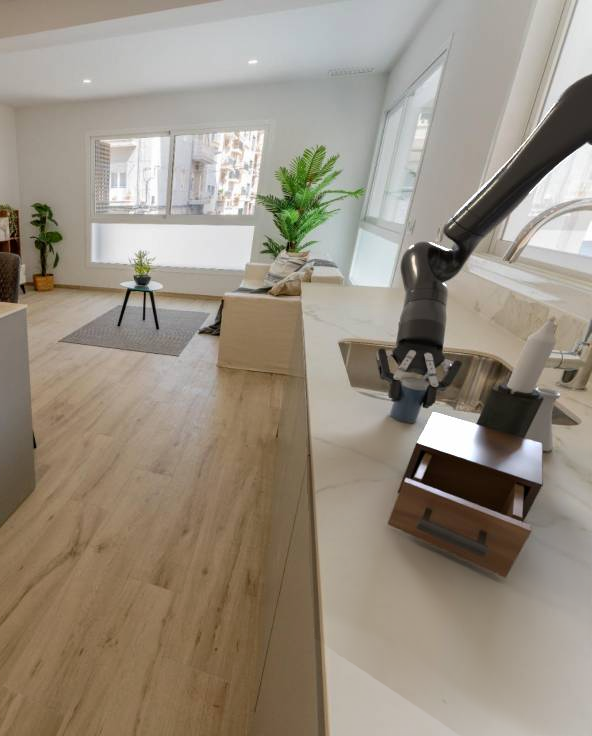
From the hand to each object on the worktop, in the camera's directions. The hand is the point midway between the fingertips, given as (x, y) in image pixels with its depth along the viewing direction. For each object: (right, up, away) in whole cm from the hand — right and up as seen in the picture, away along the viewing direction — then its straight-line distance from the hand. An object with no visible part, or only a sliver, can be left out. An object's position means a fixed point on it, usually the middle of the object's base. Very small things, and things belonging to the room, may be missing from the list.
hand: (410, 403), depth 81 cm
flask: (+18, -7, -4) cm, 19 cm away
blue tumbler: (+1, -3, +3) cm, 4 cm away
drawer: (-16, -14, -27) cm, 35 cm away
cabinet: (-7, -12, -18) cm, 23 cm away
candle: (+4, -9, -10) cm, 15 cm away
